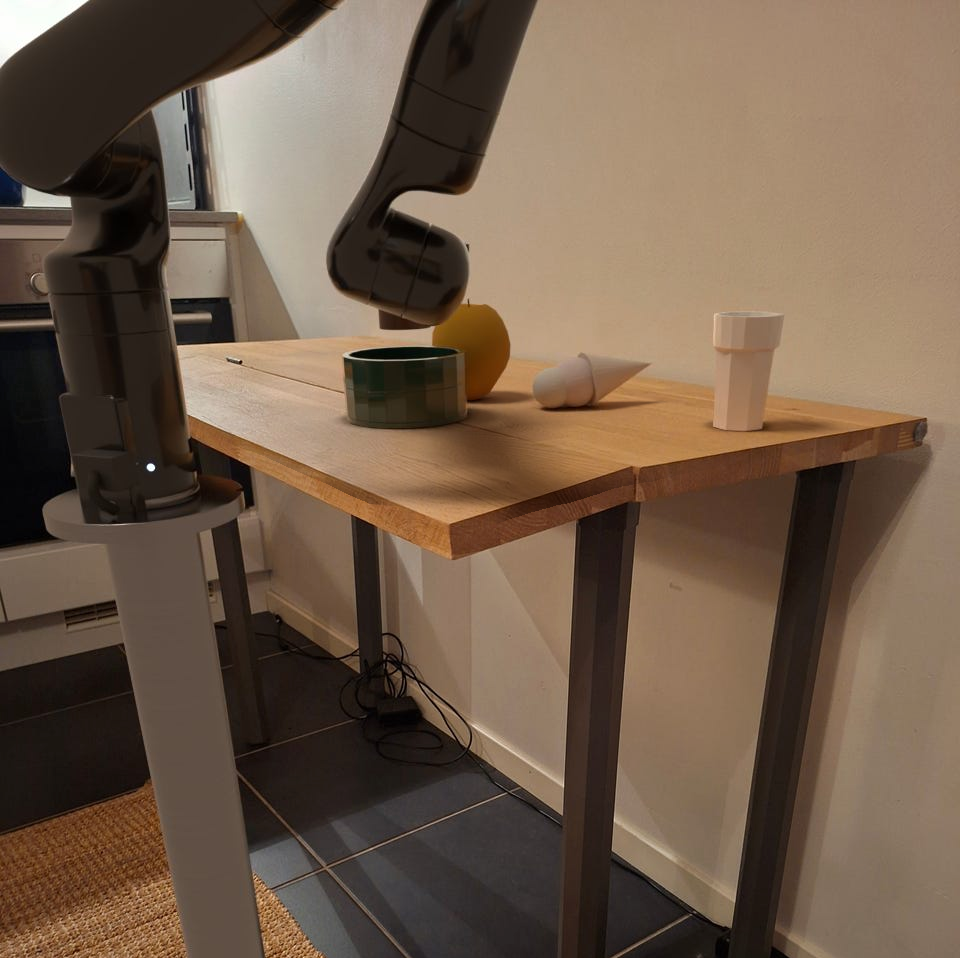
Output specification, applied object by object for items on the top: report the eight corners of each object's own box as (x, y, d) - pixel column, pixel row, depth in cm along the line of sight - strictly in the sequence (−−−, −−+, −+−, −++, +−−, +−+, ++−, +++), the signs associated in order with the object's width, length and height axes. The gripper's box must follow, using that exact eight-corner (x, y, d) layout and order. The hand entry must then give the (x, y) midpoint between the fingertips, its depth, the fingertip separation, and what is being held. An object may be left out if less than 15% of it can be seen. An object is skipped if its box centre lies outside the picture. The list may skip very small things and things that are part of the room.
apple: (525, 396, 114) (526, 297, 109) (475, 407, 107) (472, 302, 103) (468, 389, 120) (466, 295, 115) (417, 399, 113) (412, 299, 108)
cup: (693, 427, 94) (702, 315, 89) (724, 417, 98) (734, 310, 94) (752, 435, 90) (764, 318, 85) (782, 424, 94) (795, 313, 90)
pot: (436, 431, 94) (433, 362, 92) (324, 424, 99) (318, 358, 96) (485, 409, 106) (484, 347, 103) (382, 404, 111) (378, 344, 108)
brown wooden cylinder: (417, 330, 95) (412, 236, 91) (370, 329, 97) (363, 238, 93) (439, 325, 100) (435, 236, 96) (394, 325, 102) (389, 238, 98)
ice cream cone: (657, 399, 108) (540, 429, 106) (637, 362, 111) (522, 390, 108) (668, 363, 103) (545, 394, 100) (647, 325, 105) (526, 354, 103)
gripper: (477, 213, 81) (466, 217, 97) (317, 217, 81) (331, 221, 96) (480, 301, 84) (468, 292, 100) (325, 307, 84) (338, 297, 99)
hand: (401, 257), depth 98 cm, fingers closed on brown wooden cylinder, 5 cm apart
